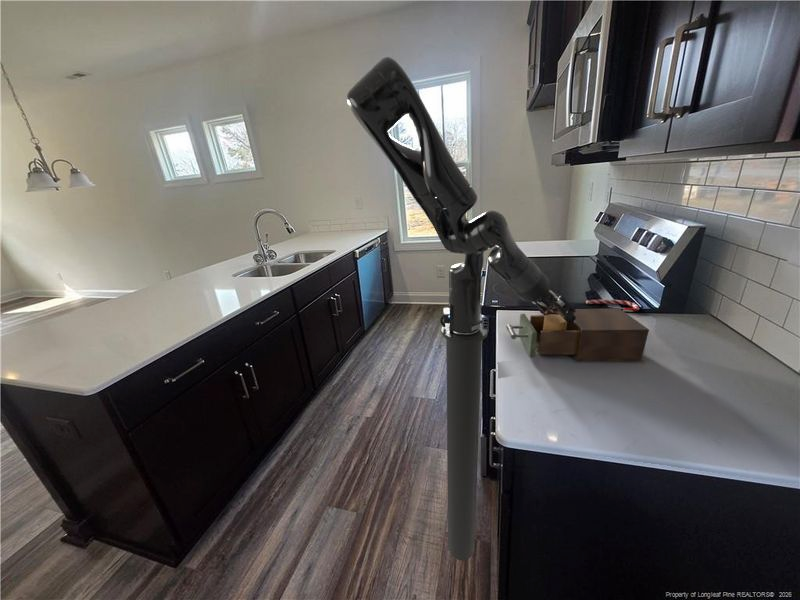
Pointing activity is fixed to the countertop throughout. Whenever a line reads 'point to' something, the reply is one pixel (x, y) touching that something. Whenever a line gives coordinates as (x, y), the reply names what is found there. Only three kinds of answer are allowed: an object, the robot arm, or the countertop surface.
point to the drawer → (545, 336)
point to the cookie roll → (554, 323)
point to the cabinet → (609, 335)
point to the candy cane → (616, 303)
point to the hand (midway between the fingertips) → (558, 314)
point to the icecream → (549, 310)
